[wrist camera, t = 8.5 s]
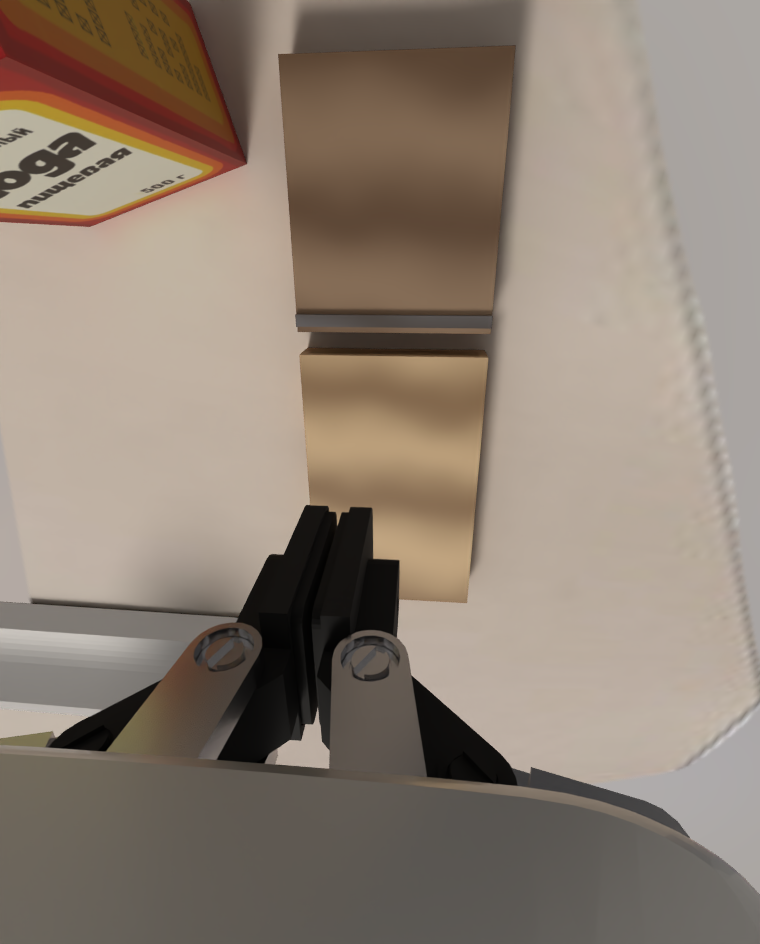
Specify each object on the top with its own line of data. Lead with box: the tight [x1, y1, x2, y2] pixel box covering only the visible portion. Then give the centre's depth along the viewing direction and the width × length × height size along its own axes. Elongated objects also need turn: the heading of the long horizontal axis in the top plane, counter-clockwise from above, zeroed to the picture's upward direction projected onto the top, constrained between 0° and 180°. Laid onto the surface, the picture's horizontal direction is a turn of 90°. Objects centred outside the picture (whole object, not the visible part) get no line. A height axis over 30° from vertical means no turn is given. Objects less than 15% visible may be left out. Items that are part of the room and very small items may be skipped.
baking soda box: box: [0, 0, 247, 227], centre depth 17 cm, size 10×6×16 cm
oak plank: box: [300, 348, 488, 603], centre depth 30 cm, size 16×10×2 cm, turn 0°
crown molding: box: [0, 602, 238, 717], centre depth 40 cm, size 31×12×4 cm, turn 90°
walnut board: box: [278, 45, 516, 334], centre depth 24 cm, size 12×10×2 cm
